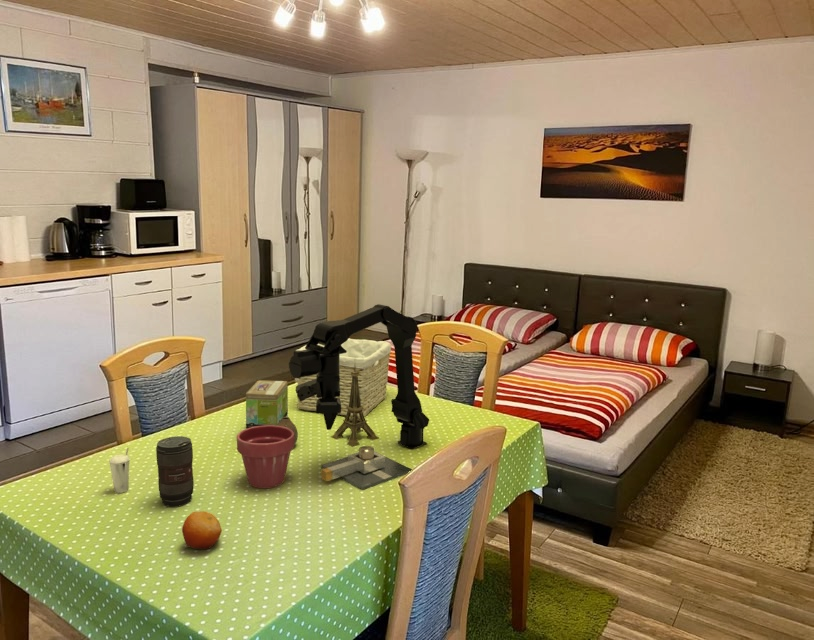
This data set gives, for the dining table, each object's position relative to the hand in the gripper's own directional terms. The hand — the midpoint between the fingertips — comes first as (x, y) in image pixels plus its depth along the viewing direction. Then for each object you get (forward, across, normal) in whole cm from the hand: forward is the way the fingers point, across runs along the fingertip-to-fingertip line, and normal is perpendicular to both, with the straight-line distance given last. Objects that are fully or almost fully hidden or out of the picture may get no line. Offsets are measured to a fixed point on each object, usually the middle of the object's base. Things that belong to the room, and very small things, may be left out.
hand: (328, 428), depth 172 cm
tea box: (+12, -31, -19) cm, 38 cm away
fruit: (+12, +35, -26) cm, 46 cm away
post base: (+12, 0, +10) cm, 16 cm away
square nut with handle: (+11, +3, +6) cm, 13 cm away
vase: (+12, -18, -13) cm, 25 cm away
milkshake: (+12, +7, -51) cm, 53 cm away
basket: (+12, -57, +6) cm, 58 cm away
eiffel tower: (+12, -24, +8) cm, 28 cm away
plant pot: (+12, +5, -16) cm, 21 cm away
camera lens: (+12, +14, -36) cm, 41 cm away
